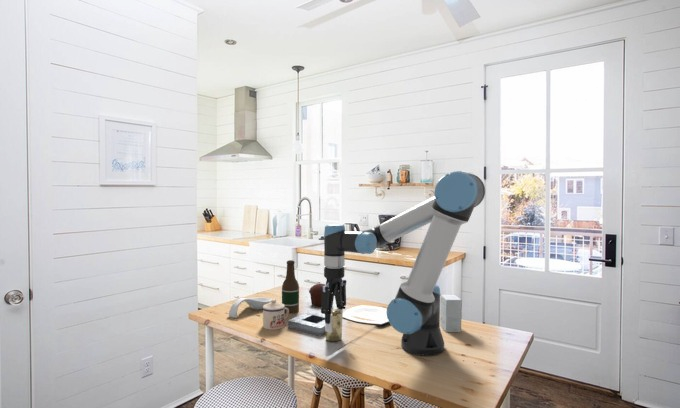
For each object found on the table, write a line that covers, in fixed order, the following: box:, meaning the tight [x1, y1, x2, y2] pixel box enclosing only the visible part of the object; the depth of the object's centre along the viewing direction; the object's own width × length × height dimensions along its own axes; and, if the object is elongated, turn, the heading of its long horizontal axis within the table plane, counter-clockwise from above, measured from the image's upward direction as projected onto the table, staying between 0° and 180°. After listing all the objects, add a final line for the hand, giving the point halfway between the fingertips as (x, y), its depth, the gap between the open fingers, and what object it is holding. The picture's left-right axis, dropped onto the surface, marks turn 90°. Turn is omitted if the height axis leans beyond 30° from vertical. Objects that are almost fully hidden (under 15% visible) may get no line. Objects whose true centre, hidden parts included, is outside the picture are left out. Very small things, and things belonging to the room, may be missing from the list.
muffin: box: [308, 283, 332, 309], centre depth 186 cm, size 12×11×10 cm
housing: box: [287, 310, 326, 337], centre depth 154 cm, size 16×14×4 cm
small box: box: [440, 294, 463, 333], centre depth 155 cm, size 8×6×13 cm
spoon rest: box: [228, 296, 273, 319], centre depth 177 cm, size 24×12×7 cm, turn 152°
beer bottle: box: [281, 259, 300, 315], centre depth 173 cm, size 8×8×24 cm
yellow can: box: [325, 309, 343, 342], centre depth 140 cm, size 6×6×10 cm
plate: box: [342, 304, 389, 326], centre depth 168 cm, size 23×23×2 cm
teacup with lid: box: [261, 298, 290, 331], centre depth 155 cm, size 12×9×12 cm
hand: (333, 328), depth 140 cm, fingers closed on yellow can, 6 cm apart
